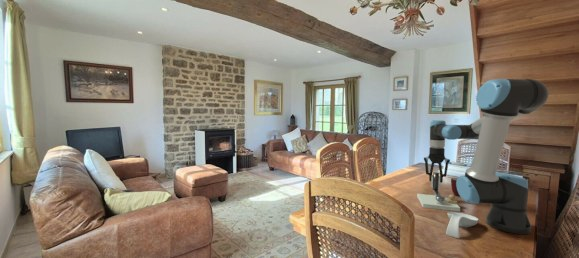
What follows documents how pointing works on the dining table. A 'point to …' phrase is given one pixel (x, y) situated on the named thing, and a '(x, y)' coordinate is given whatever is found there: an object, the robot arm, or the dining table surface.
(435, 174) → the lever
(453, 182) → the mug
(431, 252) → the dining table surface
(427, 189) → the dining table surface
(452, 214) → the spoon rest
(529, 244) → the dining table surface
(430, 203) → the board
